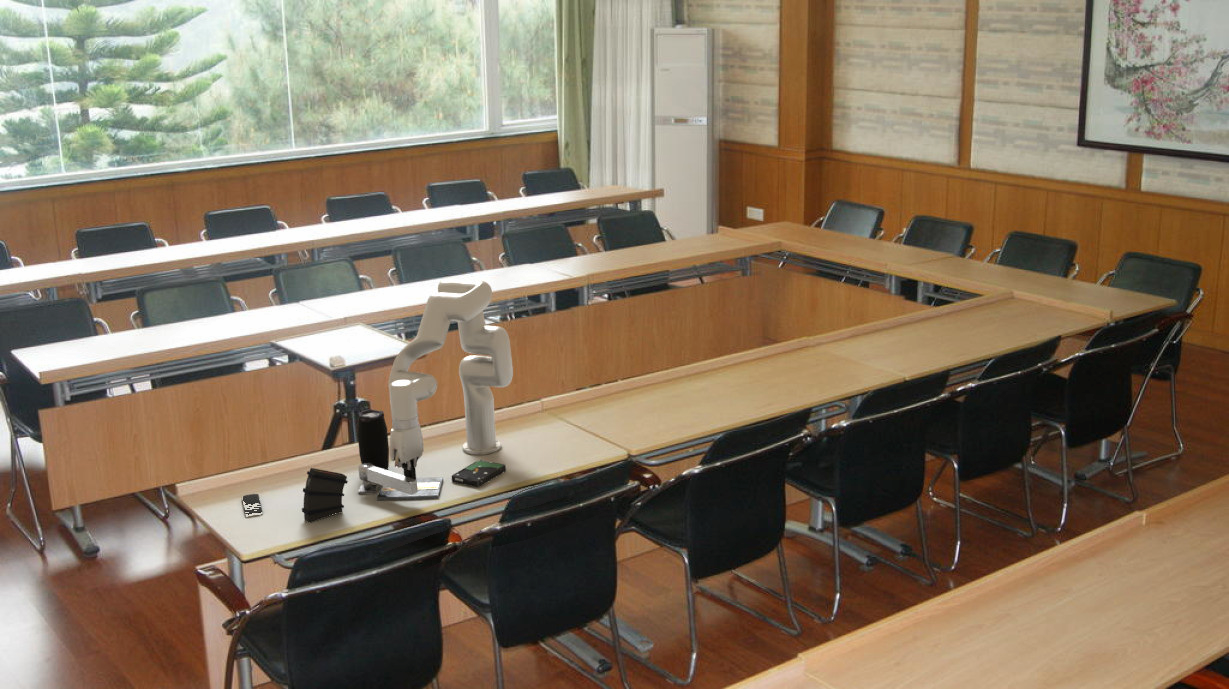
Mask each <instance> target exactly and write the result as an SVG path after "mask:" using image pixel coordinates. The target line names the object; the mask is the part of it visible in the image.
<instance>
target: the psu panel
mask: <svg viewBox="0 0 1229 689" xmlns="http://www.w3.org/2000/svg"><path fill="white" fill-rule="evenodd" d="M416 480H417V487H418V492H417V493H415V494H412V495H410V494H407V493H404V492H401V491H398V490H395V489H392V488H389V487H386V486H383V485H380V490H379V491H378V494H377V497H376V500H377V501H402V500H406V501H407V500H427V499H428V500H429V499H431V500H432V499H439V498H440V494H441V489H442V486H443V482H444V477H443V476H437V477H436V476H433V477H416ZM439 493H440V494H439Z"/></svg>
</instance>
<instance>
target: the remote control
mask: <svg viewBox="0 0 1229 689" xmlns="http://www.w3.org/2000/svg"><path fill="white" fill-rule="evenodd" d="M259 499H260V495H259V493H251V494H246V495H243V501H244V502H245V503H246V504H245V505H248V504H251V505H253V504H255V503H259V504H261V500H259ZM257 506H261V507H254V508H259V509H252V510H245V512H249V513H245V512H244V515H245V514H248V515H249V514H252V513H261V512H263V508H262V504H261V505H257ZM249 507H252V506H249ZM247 509H250V508H247ZM254 510H257V511H254Z"/></svg>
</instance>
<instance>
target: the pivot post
mask: <svg viewBox="0 0 1229 689" xmlns="http://www.w3.org/2000/svg"><path fill="white" fill-rule="evenodd" d="M362 481H363V482H362V483H363V484H361V485H360V487H359V489H358V492H357V493H358V495H367V494H366V493H373V494H376V492H377V490H378V488H379V484H377V483H375V484H372V483H373V482H371V481H368V480H362ZM364 493H365V494H364Z"/></svg>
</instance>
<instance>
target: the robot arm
mask: <svg viewBox="0 0 1229 689" xmlns="http://www.w3.org/2000/svg"><path fill="white" fill-rule="evenodd" d="M492 298H493V289H492V287H491V285H490V284H489V283H488V282H486V281H483V280H475V279H462V278H445V279H442V280H440V282H439V283H438V285H437V292H434V293H432V294H430V296H429V297H428V299H427V301H426V304H425V308H424V311H423V314H422V317H421V321H420V324H419V326H418V329H417V335H415V338H413V339H412V340H411V341H409V343H407V344H406V345H405V346H404V347H403V348H402V349H401V351H400V352H399V353H398V354H397V355H396V357H395V358H394V360H393V364H392V366H391V370H390V373H389V378H388V391H389V402H390V404H389V405H390V413H391V421H392V422H391V423H392V424H391V425H392V428H391V429H390V436H389V458H390V460H391V461H392V462H394V467H395V468H401V469H403V476H406V477H409V478H413V479H416V478H417V472H416V468H417V466H418V460H419V459H421V457H422V456H423V453H424V438H423V433H422V432H423V431H422V427H421V424H420V423H419V418H420V417H419V416H420V415H419V413H418V402H421V401H424V400H428V399H429V398H431V397H432V396H434V395H435V393H436V391H437V389H438V381H437V378H436V377H435V376H433V375H432V374H430V373H424V372H416V371H409V369H410V367H411V365H412V364H413V363H414V362H415V361H416V360H417V359H419V358H421V357H422V356H424V355H428V354H430V353H432V352H434V351H437V350H439V349H441V348H443V347H444V345H445V343H446V339H447V335H448V332H449V329H450V324H451V322H457V328H458V334H459V335H458V336H459V342H460V347H461V349H462V351H463V352H465V353H467V354H471V355H468V356H465V357H463V358H462V359H461V361H460V362H459V366H458V374H459V378H460V382H461V387H462V391H463V401H464V416H465V418H464V419H465V431H466V432H465V433H466V434H465V436H466V442H464V443H463V444H462V447H461V448H462V451H463V452H464V453H466V454H470V455H474V456H475V455H478V456H479V455H486V454H487V455H489V454H492V453H496V452H497V451H499V450H500V449H501V448H502V444H501V443H502V442H500V441H499V440H497V438H496V437H497V434H496V419H495V418H496V417H495V403H494V402H495V400H494V395H493V391H492V390H491V388H490V387H494V388H505V387H508V386H509V385H510V384H511V382H512V379H513V376H514V372H513V371H514V369H513V359H512V358H513V357H512V350H511V341H510V336H509V333H508V332H507V330H506V329H505V328H504V327H502V326H498V325H489V324H487V323H486V321H485V315H484V310H486V309H487V307H489V305H490V304H491V302H492Z"/></svg>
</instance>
